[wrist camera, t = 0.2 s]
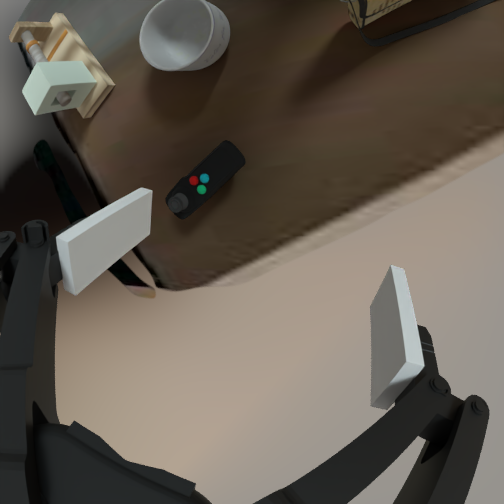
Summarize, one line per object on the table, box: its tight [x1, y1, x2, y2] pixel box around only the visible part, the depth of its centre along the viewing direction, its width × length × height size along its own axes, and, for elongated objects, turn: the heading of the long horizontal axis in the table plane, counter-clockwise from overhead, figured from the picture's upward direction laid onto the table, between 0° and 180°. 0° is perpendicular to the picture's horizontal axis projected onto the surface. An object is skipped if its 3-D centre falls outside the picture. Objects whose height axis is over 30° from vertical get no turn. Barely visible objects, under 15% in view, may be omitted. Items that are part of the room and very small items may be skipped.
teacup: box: [140, 0, 230, 71], centre depth 32 cm, size 14×11×8 cm
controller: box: [166, 140, 245, 219], centre depth 40 cm, size 4×12×10 cm, turn 132°
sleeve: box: [22, 61, 97, 115], centre depth 38 cm, size 6×6×10 cm
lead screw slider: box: [9, 13, 115, 119], centre depth 38 cm, size 24×8×10 cm, turn 38°
